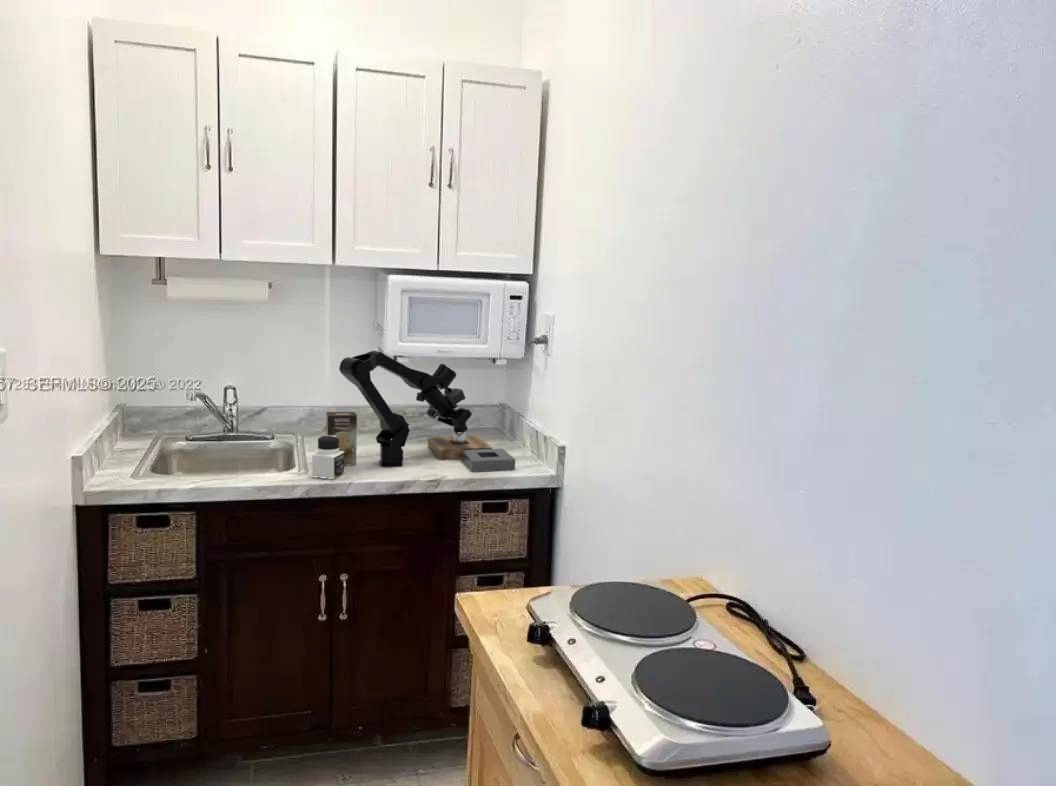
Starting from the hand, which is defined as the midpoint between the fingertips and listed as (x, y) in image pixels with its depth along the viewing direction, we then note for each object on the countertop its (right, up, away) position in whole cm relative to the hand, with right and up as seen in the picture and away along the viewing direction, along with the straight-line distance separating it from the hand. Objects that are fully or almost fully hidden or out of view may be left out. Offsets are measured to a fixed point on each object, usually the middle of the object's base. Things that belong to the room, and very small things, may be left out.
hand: (462, 429), depth 271 cm
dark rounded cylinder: (-1, -7, 0) cm, 7 cm away
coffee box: (-37, -10, -19) cm, 43 cm away
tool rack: (-1, -8, +1) cm, 8 cm away
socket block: (+9, -11, -15) cm, 20 cm away
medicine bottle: (-37, -13, -33) cm, 52 cm away
